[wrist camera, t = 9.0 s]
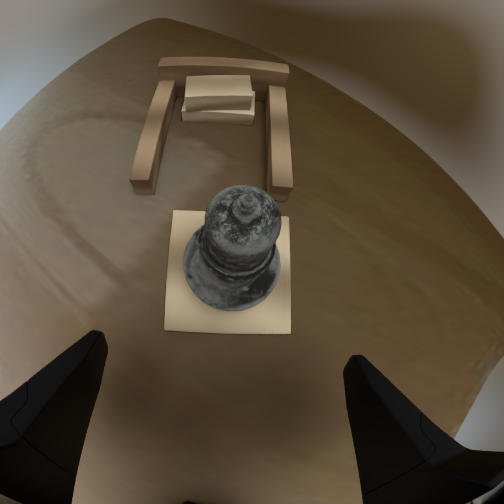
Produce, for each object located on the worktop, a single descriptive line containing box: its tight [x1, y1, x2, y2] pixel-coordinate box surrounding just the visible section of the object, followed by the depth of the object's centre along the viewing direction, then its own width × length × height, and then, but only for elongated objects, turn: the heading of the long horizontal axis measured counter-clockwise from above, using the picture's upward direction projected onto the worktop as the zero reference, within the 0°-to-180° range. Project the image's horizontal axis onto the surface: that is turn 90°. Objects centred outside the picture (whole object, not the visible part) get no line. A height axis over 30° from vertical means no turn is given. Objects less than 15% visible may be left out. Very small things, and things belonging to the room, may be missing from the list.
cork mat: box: [164, 210, 291, 334], centre depth 20 cm, size 9×9×1 cm
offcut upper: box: [185, 75, 253, 112], centre depth 22 cm, size 3×6×2 cm, turn 95°
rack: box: [129, 57, 293, 201], centre depth 22 cm, size 14×13×4 cm
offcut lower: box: [182, 91, 255, 125], centre depth 24 cm, size 4×7×2 cm, turn 88°
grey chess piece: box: [183, 185, 282, 311], centre depth 14 cm, size 6×6×12 cm
